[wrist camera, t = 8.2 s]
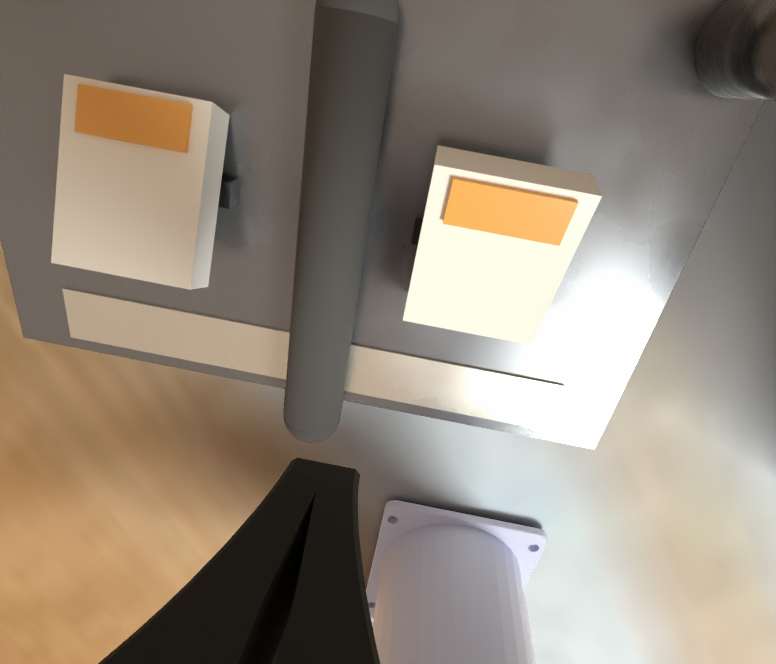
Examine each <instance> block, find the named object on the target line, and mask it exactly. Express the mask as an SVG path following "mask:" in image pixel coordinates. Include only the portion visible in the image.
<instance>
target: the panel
mask: <svg viewBox="0 0 776 664" xmlns="http://www.w3.org/2000/svg"><path fill="white" fill-rule="evenodd" d="M396 1H397V5H398V28H397V35H396V41H395V48H394V55H393V62H392V69H391V75H390V82H389V89H388V96H387V103H386V109H385V116H384V123H383V130H382V137H381V143H380V150H379V157H378V164H377V170H376V177H375V184H374V191H373V198H372V204H371V211H370V218H369V225H368V232H367V238H366V245H365V252H364V259H363V266H362V272H361V279H360V286H359V293H358V299H357V306H356V313H355V320H354V327H353V333H352V340H351V347H350V354H349V361H348V367H347V374H346V381H345V388H344V395H343V400H345V401H350V402H355V403H360V404H365V405H370V406H375V407H380V408H385V409H390V410H396V411H401V412H406V413H411V414H416V415H421V416H426V417H431V418H436V419H441V420H446V421H452V422H457V423H462V424H467V425H472V426H477V427H482V428H487V429H492V430H497V431H502V432H507V433H513V434H518V435H523V436H528V437H533V438H538V439H543V440H548V441H553V442H558V443H563V444H568V445H574V446H579V447H584V448H589V449H595V447H596V445H597V443H598V441H599V439H600V437H601V435H602V433H603V431H604V429H605V427H606V425H607V423H608V421H609V419H610V417H611V415H612V413H613V411H614V408H615V406H616V404H617V402H618V400H619V398H620V396H621V394H622V392H623V390H624V388H625V386H626V384H627V382H628V380H629V378H630V376H631V374H632V372H633V370H634V367H635V365H636V363H637V361H638V359H639V357H640V355H641V353H642V351H643V349H644V347H645V345H646V343H647V341H648V339H649V337H650V335H651V333H652V331H653V329H654V326H655V324H656V322H657V320H658V318H659V316H660V314H661V312H662V310H663V308H664V306H665V304H666V302H667V300H668V298H669V296H670V294H671V292H672V290H673V288H674V285H675V283H676V281H677V279H678V277H679V275H680V273H681V271H682V269H683V267H684V265H685V263H686V261H687V259H688V257H689V255H690V253H691V251H692V249H693V247H694V244H695V242H696V240H697V238H698V236H699V234H700V232H701V230H702V228H703V226H704V224H705V222H706V220H707V218H708V216H709V214H710V212H711V210H712V208H713V206H714V203H715V201H716V199H717V197H718V195H719V193H720V191H721V189H722V187H723V185H724V183H725V181H726V179H727V177H728V175H729V173H730V171H731V169H732V167H733V165H734V162H735V160H736V158H737V156H738V154H739V152H740V150H741V148H742V146H743V144H744V142H745V140H746V138H747V136H748V134H749V132H750V130H751V128H752V126H753V124H754V121H755V119H756V117H757V115H758V113H759V111H760V109H761V107H762V105H763V103H764V101H765V100H767V101H776V0H396ZM315 4H316V0H0V238H1V242H2V247H3V251H4V255H5V260H6V264H7V268H8V272H9V277H10V281H11V285H12V290H13V294H14V298H15V303H16V307H17V311H18V316H19V320H20V324H21V329H22V333H23V337H24V338H29V339H34V340H40V341H45V342H50V343H55V344H60V345H65V346H70V347H75V348H80V349H85V350H90V351H95V352H101V353H106V354H111V355H116V356H121V357H126V358H131V359H136V360H141V361H146V362H151V363H157V364H162V365H167V366H172V367H177V368H182V369H187V370H192V371H197V372H202V373H207V374H212V375H218V376H223V377H228V378H233V379H238V380H243V381H248V382H253V383H258V384H263V385H268V386H273V387H279V388H284V389H285V388H286V375H287V362H288V349H289V336H290V323H291V310H292V297H293V284H294V271H295V258H296V245H297V232H298V219H299V207H300V194H301V181H302V168H303V155H304V142H305V129H306V116H307V103H308V90H309V77H310V64H311V51H312V38H313V25H314V12H315ZM64 74H67V75H72V76H78V77H83V78H88V79H94V80H99V81H104V82H109V83H115V84H120V85H125V86H131V87H136V88H141V89H147V90H152V91H157V92H163V93H168V94H173V95H179V96H184V97H189V98H194V99H200V100H205V101H210V102H213V103H215V104H216V105H217V106H218V107H220V108H221V109H222V110H224V111H225V112H226V113H227V114H229V115H230V116H229V124H228V132H227V140H226V148H225V156H224V164H223V172H222V180H221V188H220V196H219V204H218V212H217V220H216V228H215V236H214V244H213V252H212V260H211V268H210V276H209V284H208V287H204V288H198V289H192V290H189V289H184V288H179V287H174V286H168V285H163V284H158V283H153V282H148V281H143V280H137V279H132V278H127V277H122V276H117V275H112V274H107V273H101V272H96V271H91V270H86V269H81V268H76V267H71V266H65V265H60V264H55V263H51V255H52V240H53V226H54V211H55V197H56V182H57V167H58V153H59V138H60V124H61V109H62V95H63V80H64ZM438 145H439V146H445V147H450V148H455V149H460V150H466V151H471V152H476V153H482V154H487V155H492V156H498V157H503V158H508V159H514V160H519V161H524V162H529V163H535V164H540V165H545V166H551V167H556V168H561V169H567V170H572V171H577V172H583V173H588V174H593V175H594V178H595V180H596V183H597V185H598V188H599V190H600V193H601V195H602V197H601V199H600V202H599V204H598V206H597V208H596V210H595V212H594V214H593V216H592V218H591V220H590V222H589V225H588V227H587V229H586V231H585V233H584V235H583V237H582V239H581V241H580V243H579V245H578V247H577V250H576V252H575V254H574V256H573V258H572V260H571V262H570V264H569V266H568V268H567V270H566V273H565V275H564V277H563V279H562V281H561V283H560V285H559V287H558V289H557V291H556V293H555V296H554V298H553V300H552V302H551V304H550V306H549V308H548V310H547V312H546V314H545V316H544V319H543V321H542V323H541V325H540V327H539V329H538V331H537V333H536V335H535V337H534V339H533V342H532V344H531V345H527V344H522V343H516V342H511V341H506V340H501V339H496V338H491V337H485V336H480V335H475V334H470V333H465V332H460V331H454V330H449V329H444V328H439V327H434V326H429V325H423V324H418V323H413V322H408V321H403V315H404V310H405V304H406V299H407V294H408V289H409V284H410V279H411V274H412V269H413V264H414V259H415V254H416V250H417V245H418V240H419V235H420V230H421V225H422V220H423V215H424V210H425V205H426V201H427V196H428V191H429V186H430V181H431V176H432V171H433V166H434V161H435V156H436V152H437V147H438Z"/></svg>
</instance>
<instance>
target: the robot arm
mask: <svg viewBox="0 0 776 664" xmlns="http://www.w3.org/2000/svg"><path fill="white" fill-rule="evenodd" d="M359 478H360V474H359V473H358V472H357V470H356V469H351V468H346V467H341V466H336V465H331V464H326V463H321V462H316V461H311V460H306V459H301V458H296V459H294V460H293V461H291V463H290V464H289V466H288V467H287V469H286V470H285V472H284V473H283V475H282V476H281V478H280V479H279V480H278V482H277V483H276V484H275V486H274V487H273V488H272V490H271V491H270V492H269V494H268V495H267V496H266V497H265V499H264V500H263V501H262V502H261V504H260V505H259V506H258V507H257V508H256V510H255V511H254V512H253V513H252V514H251V515H250V517H249V518H248V519H247V520H246V521H245V522H244V524H243V525H242V526H241V527H240V528H239V529H238V530H237V532H236V533H235V534H234V535H233V536H232V537H231V539H230V540H229V541H228V542H227V543H226V544H225V545H224V546H223V547H222V548H221V549H220V550H219V551H218V552H217V553H216V555H215V556H214V557H213V558H212V559H211V560H210V561H209V562H208V563H207V564H206V565H205V566H204V567H203V568H202V569H201V570H200V571H199V572H198V573H197V574H196V575H195V576H194V577H193V578H192V579H191V580H190V581H189V582H188V583H187V584H186V585H185V586H184V587H183V588H182V589H181V590H180V591H179V592H178V593H177V594H176V595H175V596H174V597H173V598H172V599H171V600H170V601H169V602H168V603H167V604H166V605H164V606H163V607H162V608H161V609H160V610H159V611H158V612H157V613H156V614H155V615H154V616H152V617H151V618H150V619H149V620H148V621H147V622H146V623H145V624H144V625H143V626H142V627H140V628H139V629H138V630H137V631H136V632H135V633H134V634H133V635H131V636H130V637H129V638H128V639H127V640H125V641H124V642H123V643H122V644H121V645H120V646H118V647H117V648H116V649H115V650H114V651H113V652H111V653H110V654H109V655H108V656H107V657H106V658H104V659H103V660H102V661H101V662H100V663H98V664H536V663H535V657H534V651H533V644H532V638H531V632H530V626H529V619H528V613H527V607H526V600H525V594H524V589H525V587H526V585H527V582H528V580H529V578H530V576H531V574H532V572H533V570H534V568H535V566H536V564H537V562H538V560H539V558H540V556H541V554H542V551H543V549H544V547H545V545H546V543H547V536H546V533H545V532H544V531H543V530H542V529H539V528H534V527H529V526H524V525H519V524H514V523H509V522H504V521H499V520H494V519H489V518H484V517H479V516H474V515H469V514H464V513H459V512H454V511H449V510H444V509H439V508H434V507H429V506H424V505H419V504H414V503H409V502H404V501H399V500H391V501H389V502H387V503H386V505H385V509H384V513H383V518H382V522H381V526H380V531H379V535H378V540H377V544H376V548H375V553H374V557H373V561H372V566H371V570H370V575H369V579H368V583H367V588H365V582H364V575H363V567H362V559H361V550H360V541H359V529H358V484H359ZM391 516H394V517H391ZM532 544H533V545H532ZM371 621H373V627H372V622H371Z"/></svg>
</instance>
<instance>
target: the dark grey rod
mask: <svg viewBox="0 0 776 664" xmlns="http://www.w3.org/2000/svg"><path fill="white" fill-rule="evenodd" d="M397 28H398V5H397V1H396V0H316V4H315V12H314V25H313V38H312V51H311V64H310V77H309V90H308V103H307V116H306V129H305V142H304V155H303V168H302V181H301V194H300V207H299V219H298V232H297V245H296V258H295V271H294V284H293V297H292V310H291V323H290V336H289V349H288V362H287V375H286V388H285V401H284V421H285V424H286V427H287V429H288V430H289V432H290V433H291V434H292V435H293V436H294V437H296V438H297V439H299V440H301V441H305V442H318V441H321V440H323V439H325V438H327V437H329V436H330V435H331V434H332V433H333V432H334V431H335V429H336V427H337V425H338V423H339V420H340V415H341V408H342V401H343V395H344V388H345V381H346V374H347V367H348V361H349V354H350V347H351V340H352V333H353V327H354V320H355V313H356V306H357V299H358V293H359V286H360V279H361V272H362V266H363V259H364V252H365V245H366V238H367V232H368V225H369V218H370V211H371V204H372V198H373V191H374V184H375V177H376V170H377V164H378V157H379V150H380V143H381V137H382V130H383V123H384V116H385V109H386V103H387V96H388V89H389V82H390V75H391V69H392V62H393V55H394V48H395V41H396V35H397Z"/></svg>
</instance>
